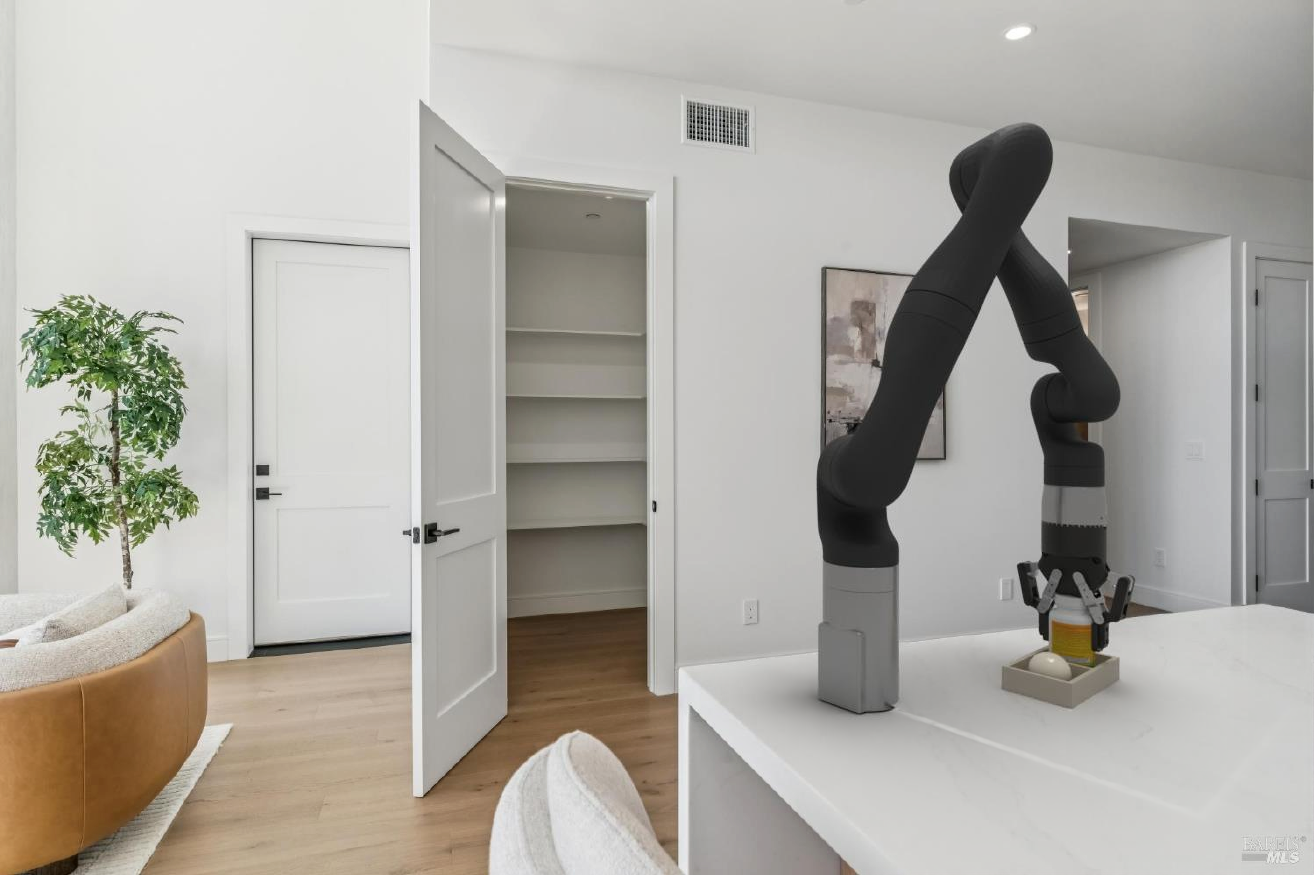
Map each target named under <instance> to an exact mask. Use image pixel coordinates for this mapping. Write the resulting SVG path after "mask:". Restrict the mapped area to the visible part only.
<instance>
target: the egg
mask: <svg viewBox="0 0 1314 875" xmlns="http://www.w3.org/2000/svg"><path fill="white" fill-rule="evenodd" d="M1028 671H1029V672H1033V673H1037V674H1041V675H1045V676H1049V677H1053V678H1056V679H1060V680H1064V681H1068V682H1069V681H1071V676H1072V673H1071V669H1070V666H1069V664H1068V663H1067V662H1066V661H1065V659H1063V658H1062V657H1061V656H1059V655H1057V654H1055V653H1051V652H1042V653H1039V654H1037V655H1035V656H1034V657H1033V658H1032V659H1031V660H1030V662H1029V666H1028Z"/></svg>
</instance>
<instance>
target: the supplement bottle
mask: <svg viewBox="0 0 1314 875" xmlns="http://www.w3.org/2000/svg"><path fill="white" fill-rule="evenodd" d="M1054 602H1055V606H1056V607H1054V608H1053V609H1052V610H1051V611H1050V612H1049V641H1048V645H1049V652H1051V653H1055V654H1057V655H1059V656H1061V657H1062V658H1063V659H1065V661H1066V662H1068V663H1073V664H1077V665H1081V666H1085V667H1090V668H1094V667H1095V666H1096V652H1094V651H1092V623H1094V619H1093V617H1092V615H1091V612H1090V611H1088V610H1089V608H1088V607H1087V606H1086V605H1085V602H1084V600H1083V598H1082V597H1076V596H1074V595H1071V594H1058V593H1055V600H1054Z"/></svg>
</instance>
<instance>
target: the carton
mask: <svg viewBox="0 0 1314 875" xmlns="http://www.w3.org/2000/svg"><path fill="white" fill-rule="evenodd" d="M1042 652H1049V644H1048V645H1046V646H1043V647H1041V648H1039V649H1037V650H1034V651H1032V652H1030V653H1027V654H1025V655H1023V656H1021V657H1019V658H1017V659H1014V660H1012V661H1009V662H1007V663H1006V664H1003V665H1001V689H1002V690H1005V691H1008V692H1011V693H1014V694H1019V695H1022V696H1025V697H1029V698H1031V699H1034V700H1035V699H1036V700H1039V701H1043V702H1047V703H1048V704H1049V703H1050V704H1052V705H1056V706H1060V707H1065V708H1067V709H1071V710H1073V709H1075V708H1076V707H1077V706H1079V705H1080V704H1083V703H1084V702H1085V701H1087V700H1089V699H1090V698H1092V697H1093V696H1095V695H1097V694H1098V693H1100V692H1101V691H1103V690H1104V689H1106V688H1108V687H1110V686H1112V685H1113V684H1115V683H1117V682H1118V681H1120V664H1121V662H1120V657H1119V656H1117V655H1116V656H1115V655H1110V654H1105V653H1102V652H1101V653H1100V652H1096V666H1095V667H1094V668H1090V667H1085V666H1081V665H1077V664H1073V663H1068V662H1067V663H1068V664H1069V666H1070V669H1071V673H1072V676H1071V681H1069V682H1068V681H1064V680H1060V679H1056V678H1053V677H1049V676H1045V675H1041V674H1037V673H1033V672H1029V671H1028V666H1029V662H1030V660H1031V659H1032V658H1033V657H1034V656H1035V655H1037V654H1039V653H1042Z"/></svg>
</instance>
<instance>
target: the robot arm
mask: <svg viewBox="0 0 1314 875" xmlns="http://www.w3.org/2000/svg"><path fill="white" fill-rule="evenodd" d="M1053 151H1054V150H1053V144H1052V142H1051V139H1050V137H1049V135H1048V133H1047V131H1046V130H1045V129H1044V128H1042V127H1041V126H1039V125H1037V124H1035V123H1032V122H1018V123H1012V124H1010V125H1006V126H1004V127H1002V128H999V129H997V130H995V131H993V132H991V133H990V134H988V135H986V136H984V137H982V138H981V139H979V140H977V141H975V142H974V143H972V144H970V145H968V146H967V147H964V149H962V150H961V151H960V152H959V153H958V154H957V155H956V156H955V158H954V159H953V161H952V162H951V165H950V168H949V174H948V183H949V188H950V192H951V194H952V197H953V200H954V202H955V204H956V206H957V208H958V210H959V211H960V213H961V217H960V218H959V219H958V221H957V223H956V224H955V225H954V227H953V228H952V229H951V231H950V232H949V233H948V234H947V236H946V237H945V238H944V239H943V240H942V241H941V243H940V244H939V245H938V246H937V247H936V249H935V250H934V251H933V252H932V253H931V254H930V256H928V258H927V259H926V261H925V262H924V263H923V264H922V266H920V268H919V269H918V270H917V271H916V273H915V275H914V276H913V277H912V279H911V280H910V282H909V283H908V285H907V287H906V289H905V291H904V293H903V295H902V296H901V297H902V298H901V300H900V302H899V303H898V305H897V308H896V309H895V313H894V315H893V317H892V319H891V322H890V325H889V327H888V329H887V330H888V331H887V332H886V337H885V341H884V349H883V356H882V357H883V358H882V367H881V373H880V378H879V382H878V386H877V388H876V392H875V395H874V397H873V399H872V401H871V403H870V405H869V407H868V409H867V411H866V412H865V414H864V417H863V418H862V420H861V422H860V423H859V425H858V427H857V429H856V430H855V432H854V433H850V434H844V435H840V436H838V437H836V438H834V439H832V440H831V441H830V442H828V443H827V444H826V446H824V448H823V449H822V451H821V453H820V455H819V458H818V462H817V467H816V511H817V513H816V514H817V515H816V517H817V518H816V519H817V529H818V535H819V539H820V542H821V547H822V622H819V623H818V627H817V632H818V633H817V634H818V635H817V640H818V641H817V643H818V644H817V646H818V648H817V653H818V654H817V661H818V662H817V667H818V669H817V677H818V678H817V687H818V688H817V692H818V693H817V694H818V695H817V697H818V699H819V700H822V701H824V702H827V703H829V704H833V705H835V706H837V707H840V708H843V709H845V710H848V711H851V712H854V713H856V714H857V713H858V714H861V713H864V712H865V713H866V712H881V711H887V710H891V709H893V708H895V706H893V705H895V704H897V703H898V702H899V700H900V544H899V542H898V540H897V539H896V537H895V535H894V533H893V531H892V529H891V527H890V525H889V520H888V508H887V507H889V506H890V505H892V504H893V503H895V502H896V501H897V500H898V498H900V496H902V494H903V492H904V491H905V490H906V488H907V485H908V483H909V481H910V480H911V477H912V476H911V475H912V473H913V470H914V468H915V464H916V462H917V458H918V455H919V452H920V450H921V446H922V443H923V439H924V437H925V433H926V432H927V428H928V425H929V422H930V419H931V417H932V414H933V412H934V411H935V408H936V407H937V406H936V405H937V404H938V402H939V400H940V398H941V395H942V393H943V392H944V389H945V387H946V385H947V383H948V380H949V379H950V377H951V375H952V372H953V370H954V368H955V366H956V364H957V361H958V359H959V357H960V355H961V353H962V352H963V350H964V348H965V346H966V343H967V341H968V339H969V337H970V336H971V335H970V334H971V332H972V330H973V328H974V326H975V323H976V322H977V320H978V318H979V314H980V312H981V310H982V308H983V305H984V302H985V300H986V298H987V296H988V293H989V292H990V289H991V287H992V286H993V284H994V282H995V280H996V278H997V279H998V281H999V284H1000V285H1001V287H1002V290H1003V292H1004V295H1005V296H1006V299H1007V301H1008V304H1009V306H1010V309H1011V311H1012V314H1013V317H1014V320H1015V323H1016V326H1017V329H1018V331H1019V335H1020V337H1021V341H1022V342H1023V346H1024V348H1025V351H1026V354H1028V357H1029V358H1030V359H1031V360H1032V361H1036V362H1039V363H1043V364H1050V365H1052V366H1054V367H1055V368H1056V369H1057V371H1058V372H1050V373H1047V374H1046V373H1045V375H1043V376H1041V377H1039V379H1038V380H1036V382H1035V384H1034V385H1033V388H1032V390H1031V394H1030V398H1029V399H1030V400H1029V406H1030V407H1029V408H1030V412H1031V417H1032V421H1033V423H1034V427H1035V430H1036V434H1037V438H1038V441H1039V444H1040V447H1041V451H1042V454H1043V486H1042V488H1043V489H1042V495H1041V502H1040V503H1041V509H1040V510H1041V516H1040V517H1041V518H1040V519H1041V520H1040V521H1041V523H1040V525H1041V526H1040V527H1041V530H1040V531H1041V532H1040V536H1041V537H1040V538H1041V539H1040V540H1041V541H1040V542H1041V544H1040V550H1041V551H1040V552H1041V556H1040V558H1039V560H1038V561H1030V560H1025V561H1023V562H1019V563H1017V565H1016V569H1017V575H1018V580H1019V584H1020V588H1021V594H1022V599H1023V600H1022V601H1023V602H1024V604H1025V606H1027V607H1031V608H1033V609H1035V610H1036V611H1037V613H1038V633H1039V635H1040V636H1042V640H1043V641H1045V642H1049V612H1050V611H1051V610H1052V609H1054V608H1055V606H1056V604H1055V602H1054V600H1055V593H1058V594H1071V595H1074V596H1076V597H1082V598H1083V600H1084V602H1085V605H1086V606H1087V607H1088V610H1089V612H1090V613H1091V615H1092V617H1093V619H1094V623H1092V651H1094V652H1097V653H1100V652H1101V653H1102V652H1103V650H1104V649H1105V648H1107V647H1108V645H1109V642H1110V639H1109V638H1110V634H1109V633H1110V623H1118V622H1120V621H1123V620H1124V619H1126V618H1127V616H1128V612H1129V607H1130V603H1131V600H1132V595H1133V591H1134V587H1135V582H1136V578H1135V576H1133V575H1131V574H1127V575H1124V574H1122V573H1121V574H1120V573H1117V572H1114V571H1111V568H1110V567H1109V565H1108V563H1107V553H1108V552H1107V551H1108V550H1107V549H1108V546H1107V545H1108V543H1107V540H1108V538H1107V534H1108V531H1107V530H1108V529H1107V528H1108V527H1107V526H1108V522H1107V521H1108V520H1109V514H1108V505H1107V497H1106V489H1105V486H1106V485H1105V484H1106V480H1105V478H1106V477H1105V476H1106V475H1105V472H1106V471H1105V470H1106V468H1105V467H1106V466H1105V451H1104V448H1103V447H1102V446H1101V445H1100V444H1098V443H1096V442H1094V441H1089V440H1085V439H1082V438H1081V437H1080V435H1079V432H1078V430H1077V427H1076V425H1075V424H1090V423H1091V424H1092V423H1093V424H1094V423H1095V424H1097V423H1101V422H1104V421H1107V420H1109V419H1111V418H1112V417H1113V416H1114V415H1115V414H1116V412H1117V411H1118V409H1119V406H1120V403H1121V387H1120V384H1119V381H1118V378H1117V377H1116V375H1115V373H1114V371H1113V370H1112V368H1111V367H1110V365H1109V364H1108V363H1107V361H1106V360H1105V358H1104V357H1103V356H1102V354H1101V353H1100V351H1099V350H1098V349H1097V347H1096V346H1095V344H1094V343H1093V342H1092V340H1091V339H1090V337H1088V336H1087V333H1086V332H1085V329H1084V326H1083V323H1082V321H1081V318H1080V314H1079V311H1078V308H1077V304H1076V303H1075V300H1074V297H1073V295H1072V292H1071V290H1070V288H1069V286H1068V284H1067V283H1066V281H1065V280H1064V278H1063V277H1062V276H1061V274H1060V272H1058V271H1057V270H1056V269H1055V267H1054V266H1052V264H1051V263H1050V262H1049V260H1047V259H1046V258H1045V257H1044V255H1042V254H1041V253H1040V252H1039V251H1038V249H1036V247H1035V246H1034V245H1033V243H1032V242H1031V241H1030V240H1029V238H1028V237H1027V236H1026V234H1025V233H1024V231H1023V229H1022V225H1023V224H1024V222H1026V219H1027V217H1029V216H1028V215H1029V214H1030V212H1031V211H1032V209H1033V207H1034V206H1035V204H1036V203H1037V201H1038V199H1039V197H1040V196H1041V194H1042V192H1043V190H1044V189H1045V186H1046V185H1047V183H1048V181H1049V178H1050V175H1051V172H1052V168H1053V163H1054V152H1053ZM1039 572H1040V573H1041V575H1042V576H1043V577H1044V579H1045V580H1046V585H1045V586H1044V589H1043V591H1042V593H1041V596H1040V593H1039V592H1040V591H1039V588H1038V586H1039V585H1038V582H1037V577H1038V576H1039ZM1107 580H1108V581H1109V583H1110V588H1111V589H1112V590H1113V591H1114V594H1113V599H1112V601H1111V607H1110V610H1109V609H1108V606H1107V605H1106V598H1105V596H1104V594H1103V591H1102V589H1101V587H1102V586H1103V585H1104V584H1105V583H1106V582H1107ZM1040 597H1041V598H1040Z"/></svg>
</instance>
